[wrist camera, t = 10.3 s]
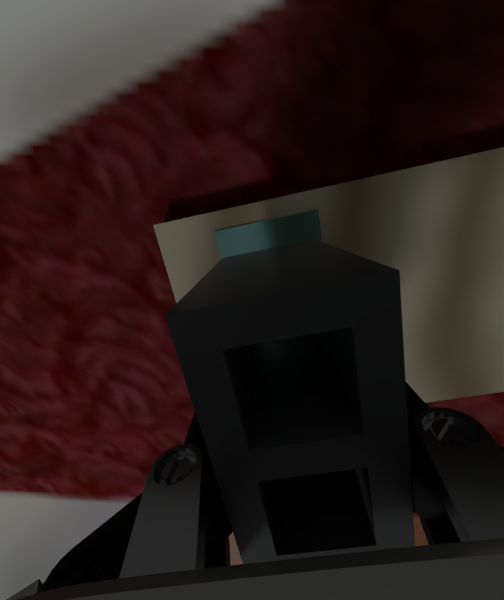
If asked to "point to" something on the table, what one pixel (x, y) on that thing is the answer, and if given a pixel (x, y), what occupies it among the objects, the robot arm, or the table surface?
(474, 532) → the robot arm
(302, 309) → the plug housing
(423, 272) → the pin board
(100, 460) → the table surface
